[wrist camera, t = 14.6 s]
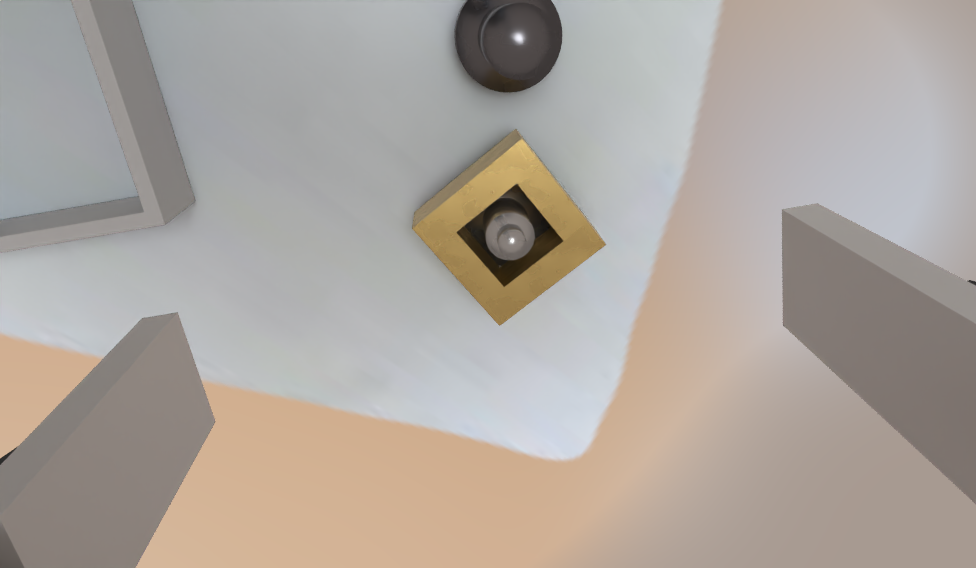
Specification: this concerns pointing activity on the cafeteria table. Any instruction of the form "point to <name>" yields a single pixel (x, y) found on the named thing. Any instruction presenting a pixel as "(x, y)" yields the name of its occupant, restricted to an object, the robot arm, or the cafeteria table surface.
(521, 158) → the gold square ring
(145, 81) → the gray bin
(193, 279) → the cafeteria table surface
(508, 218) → the cylinder
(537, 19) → the dark grey round-headed cylinder
